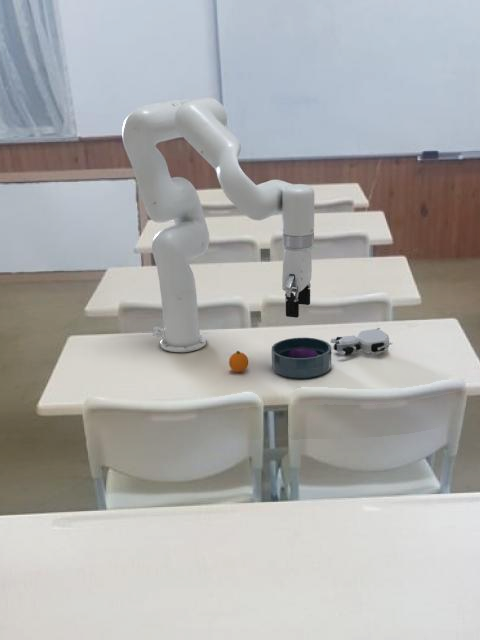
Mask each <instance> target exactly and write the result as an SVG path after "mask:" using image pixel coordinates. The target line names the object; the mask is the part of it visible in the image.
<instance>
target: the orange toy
mask: <svg viewBox="0 0 480 640" xmlns="http://www.w3.org/2000/svg"><path fill="white" fill-rule="evenodd" d="M228 365H229V368H230V369H231V370H232V371H233V372H236V373H243V372H244V371H246V370H247V368H248V366H249V358H248V356H247V355H246V354H245V353H244V352H241V351H240V350H236V352H234V353H232V354H231V355H230V356H229V359H228Z"/></svg>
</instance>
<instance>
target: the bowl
mask: <svg viewBox="0 0 480 640" xmlns="http://www.w3.org/2000/svg"><path fill="white" fill-rule="evenodd" d="M294 348H300V349H310V350H314V351H316V352H317V353H318V355H319V356H316V357H310V358H289V357H288V355H289V352H290V351H291V350H292V349H294ZM271 368H272V370H273V371H274V373H276V374H278V375H280V376H281V377H285V378H289V379H299V380H302V379H303V380H304V379H312V378H317V377H320V376H322V375H324V374H325V373H327V372H329V371H330V370H331V368H332V345H331V343H329V342H328V341H325V340H323V339H320V338H314V337H292V338H286V339H282V340H280V341H277V342H276V343H274V344H273V345H272V346H271Z"/></svg>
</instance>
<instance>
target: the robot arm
mask: <svg viewBox="0 0 480 640" xmlns="http://www.w3.org/2000/svg"><path fill="white" fill-rule="evenodd" d="M227 124H228V114H227V111H226V109H225V107H224V105H223V104H222V103H221V102H220V101H218V100H217V99H215V98H213V97H201V98H190V99H189V98H188V99H173V100H172V99H171V100H167V101H161V102H156V103H155V102H154V103H149V104H145V105H142V106H139V107H137V108H135V109H134V110H132V111H131V112H130V113H129V114H128V115H127V117H126V118H125V120H124V122H123V125H122V130H121V131H122V132H121V137H122V143H123V147H124V150H125V153H126V155H127V158H128V160H129V162H130V165H131V168H132V170H133V173H134V176H135V180H136V184H137V187H138V190H139V193H140V196H141V200H142V203H143V207H144V209H145V212H146V214H147V216H148V218H149V219H150V220H151V221H153V222H154V223H167V222H170V221H174V224H172V225H170V226H167V227H165V228H163V229H161V230H160V231H158V232H157V233H156V234H155V235H154V237H153V239H152V242H151V253H152V257H153V259H154V262H155V266H156V270H157V276H158V282H159V293H160V299H161V309H162V319H163V327H158V326H154V327H153V328H152V336H153V337H154V338H155V337H156V338H160V339H161V340H160V348H161V349H162V350H165V351H167V352H171V353H190V352H195V351H198V350H200V349H202V348H204V347H205V346H206V344H207V339H206V337H205V336H203V335H202V334H200V333H201V332H200V320H199V308H198V298H197V286H196V278H195V274H194V272H193V270H192V268H191V266H190V263H189V262H190V261H191V260H193V259H195V258H197V257H200V256H202V255H203V254H205V253H206V252H207V250H208V248H209V246H210V233H209V229H208V225H207V222H206V218H205V217H206V216H205V214H204V210H203V207H202V204H201V200H200V197H199V194H198V192H197V189H196V188H195V185H193V184H192V182H190V180H188V179H187V178H184V177H182V176H174V177H171V174H170V171H169V167H168V163H167V161H166V159H165V157H164V155H163V154H162V152H161V151H160V150H159V149H158V148H157V144H158V143H161V142H167V141H170V140H174V139H179V138H184V139H185V141H186V142H187V143H188V144H189V145H190V146H192V148H193V149H195V151H196V152H197V153H198V154H199V155H200V156H201V157H202V158H203V159H204V160H205V161H206V162H207V163H208V164H209V165H210V166H211V167H212V168H213V169H214V170H215V172H216V176H217V180H218V182H219V185H220V187H221V190H222V191H223V193H224V195H225V197H226V198H227V199H228V200H229V201H230V202H231V203H232V204H233V206H234V207H236V208H237V210H239V211H240V212H241V213H242V214H243V215H244V216H245V217H247V218H248V219H250V220H253V221H262V220H266V219H268V218H271V217H272V216H275V215H279V214H281V215H282V218H281V219H282V222H281V223H282V248H283V249H284V251H283V258H282V277H281V278H282V279H281V289H282V290H283V291H284V292H285V294H284V298H285V316H286V317H287V318H296V319H297V318H299V316H300V305H304V306H310V304H311V287H312V286H311V281H312V271H313V270H312V269H313V267H312V266H313V265H312V250H313V249H314V248H315V189H314V188H313V187H312V186H311V185H308V184H302V183H297V184H296V183H290V182H288V181H285V180H281V179H270V180H268V181H266V182H261V183H259V184H256V183H254V181H252V180H251V178H250V177H248V176H247V174H245V172H244V171H243V169H242V167H241V165H240V163H239V159H238V158H239V156H240V153H241V151H242V144H241V141H240V140H239V139H238V138H237V137H236V136H235V135H234V134H233V133H232V132H231V131H230V130H229V129H228V128H227Z"/></svg>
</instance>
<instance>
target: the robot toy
mask: <svg viewBox="0 0 480 640" xmlns="http://www.w3.org/2000/svg"><path fill="white" fill-rule="evenodd" d="M330 344H333V350H335V351H336V352H337V353H338V355H340V356H345V357H347V356H351V355H352V354H355V353H358V352H359V351H360V350H361V351H362V352H365V353H367V354H373V355H379V354H381V353H382V352H385V351H387V350H388V349H389V348H390V346H391V345H393V342H390V337H389V335H388V334H387V333H386V332H385V331H383V330H381V327H377V328H371V329H365V330H361V331H360V332H359V333H358V334H357V335H346V336H337V337H336V338H335V337H334V338H331V339H330Z"/></svg>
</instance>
